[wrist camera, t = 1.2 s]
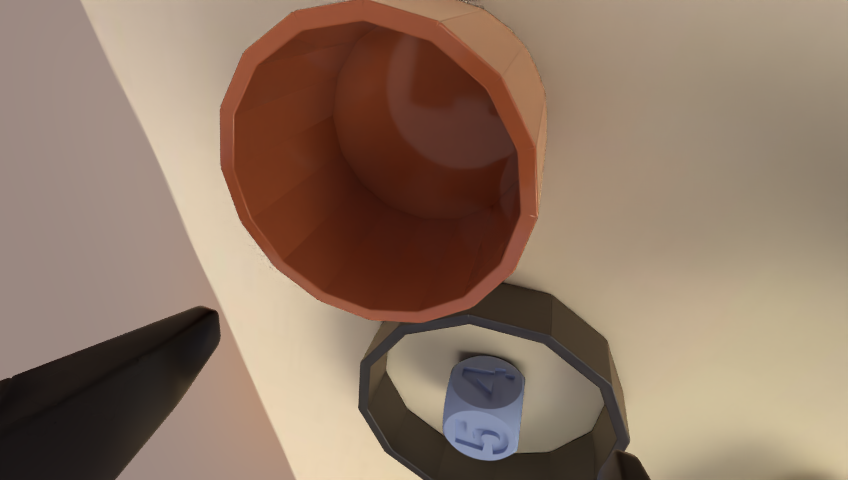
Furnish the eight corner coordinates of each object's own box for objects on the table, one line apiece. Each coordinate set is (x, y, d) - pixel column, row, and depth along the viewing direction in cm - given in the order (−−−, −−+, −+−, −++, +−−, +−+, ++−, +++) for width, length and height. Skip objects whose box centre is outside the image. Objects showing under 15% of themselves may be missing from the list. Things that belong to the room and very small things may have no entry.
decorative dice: (457, 349, 26) (442, 402, 23) (526, 361, 25) (521, 418, 22) (456, 397, 28) (442, 452, 25) (521, 409, 27) (515, 468, 24)
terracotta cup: (599, 108, 18) (621, 180, 11) (450, 257, 23) (404, 366, 17) (406, -63, 17) (304, -97, 10) (296, 134, 22) (181, 197, 16)
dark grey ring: (678, 397, 24) (692, 449, 21) (500, 485, 31) (495, 532, 29) (474, 231, 22) (462, 264, 20) (339, 366, 30) (317, 403, 27)
